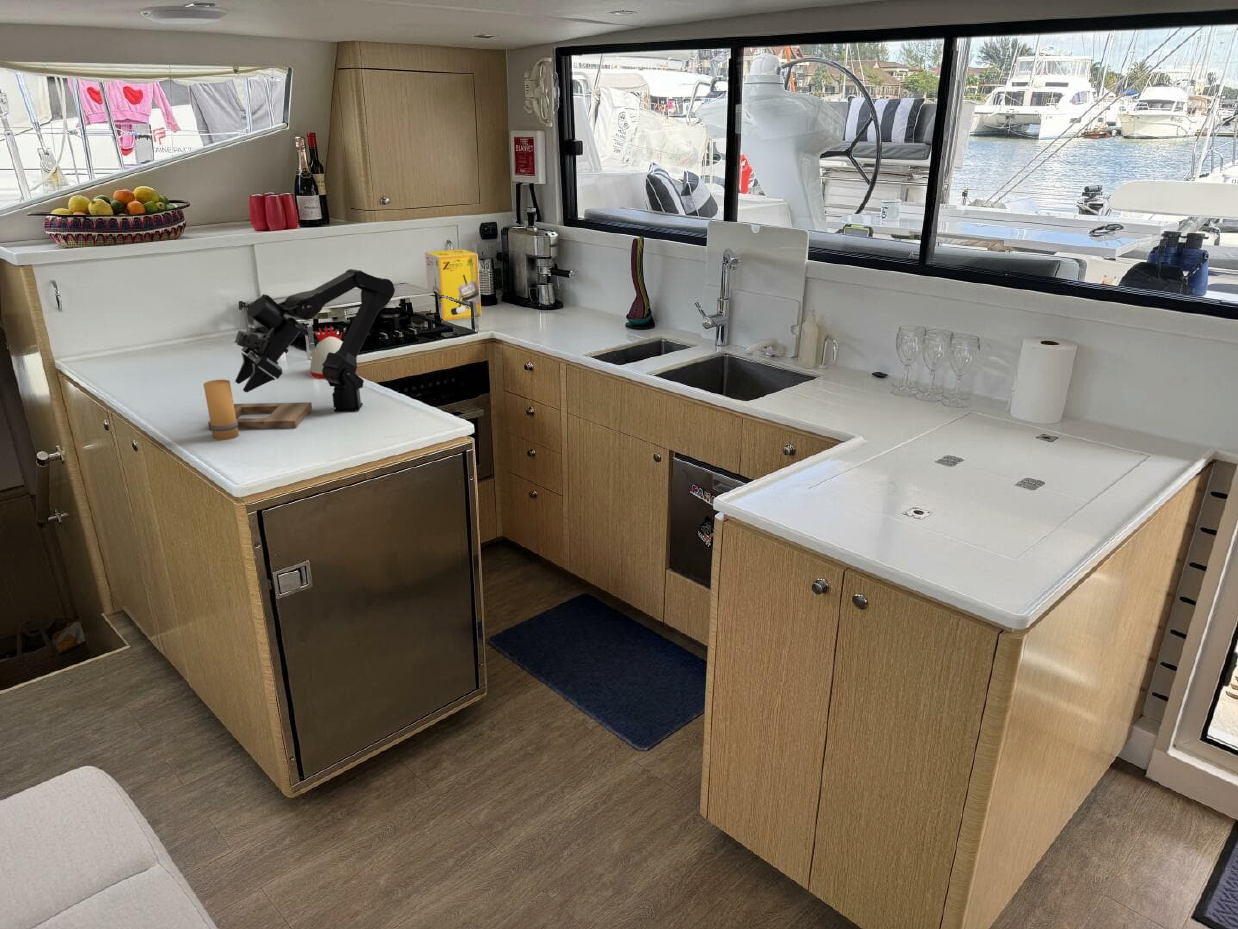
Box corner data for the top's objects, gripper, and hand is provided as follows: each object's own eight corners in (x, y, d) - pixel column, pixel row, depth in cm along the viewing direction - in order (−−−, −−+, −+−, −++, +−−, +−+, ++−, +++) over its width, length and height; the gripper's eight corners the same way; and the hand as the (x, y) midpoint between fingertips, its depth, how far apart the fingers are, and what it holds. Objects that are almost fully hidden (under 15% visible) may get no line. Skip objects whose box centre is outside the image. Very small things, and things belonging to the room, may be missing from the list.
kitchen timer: (307, 370, 280) (301, 324, 274) (351, 365, 286) (346, 320, 280) (315, 381, 268) (308, 333, 263) (360, 375, 274) (355, 328, 269)
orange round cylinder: (243, 431, 225) (234, 379, 220) (234, 440, 219) (225, 386, 214) (217, 432, 225) (208, 379, 219) (208, 440, 219) (198, 386, 214)
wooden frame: (312, 409, 242) (311, 402, 241) (295, 428, 227) (294, 420, 227) (231, 410, 241) (230, 403, 240) (209, 429, 226) (208, 422, 225)
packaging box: (481, 316, 356) (477, 253, 347) (443, 320, 348) (438, 257, 339) (467, 309, 369) (463, 249, 360) (429, 313, 361) (424, 251, 352)
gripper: (244, 312, 224) (205, 360, 222) (261, 325, 209) (219, 376, 208) (280, 338, 231) (243, 385, 229) (299, 353, 216) (259, 403, 215)
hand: (240, 387), depth 220 cm, fingers open, 9 cm apart
